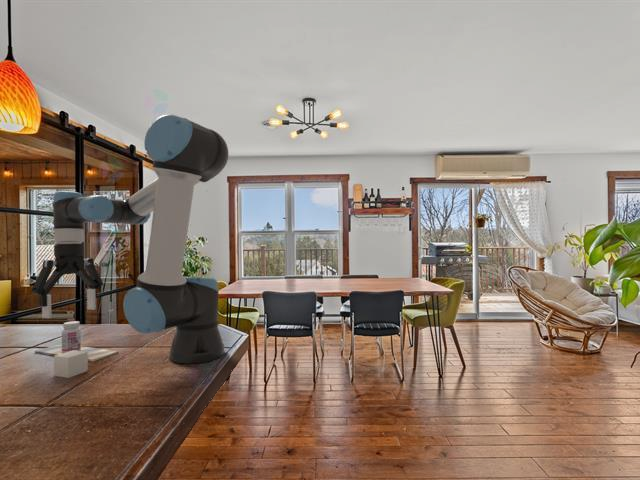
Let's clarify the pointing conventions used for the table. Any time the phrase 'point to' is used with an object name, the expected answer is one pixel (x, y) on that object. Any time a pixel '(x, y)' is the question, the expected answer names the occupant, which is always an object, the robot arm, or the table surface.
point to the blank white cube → (70, 363)
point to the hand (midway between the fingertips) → (70, 313)
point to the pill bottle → (71, 336)
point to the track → (93, 353)
